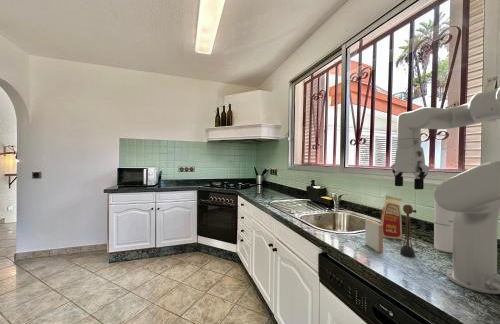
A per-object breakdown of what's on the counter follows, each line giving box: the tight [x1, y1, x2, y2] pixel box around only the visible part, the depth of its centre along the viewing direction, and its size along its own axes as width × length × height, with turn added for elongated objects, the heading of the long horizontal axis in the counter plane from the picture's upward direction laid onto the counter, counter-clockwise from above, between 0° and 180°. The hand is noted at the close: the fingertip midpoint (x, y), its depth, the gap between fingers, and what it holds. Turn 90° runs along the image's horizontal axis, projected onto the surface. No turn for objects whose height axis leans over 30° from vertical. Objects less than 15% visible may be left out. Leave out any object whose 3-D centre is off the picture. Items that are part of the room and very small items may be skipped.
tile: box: [364, 218, 384, 253], centre depth 94 cm, size 9×2×11 cm, turn 5°
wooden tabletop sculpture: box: [399, 203, 417, 258], centre depth 87 cm, size 6×5×20 cm
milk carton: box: [380, 194, 403, 240], centre depth 110 cm, size 9×9×20 cm
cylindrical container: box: [433, 188, 455, 254], centre depth 93 cm, size 7×7×25 cm
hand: (408, 187), depth 87 cm, fingers open, 9 cm apart
